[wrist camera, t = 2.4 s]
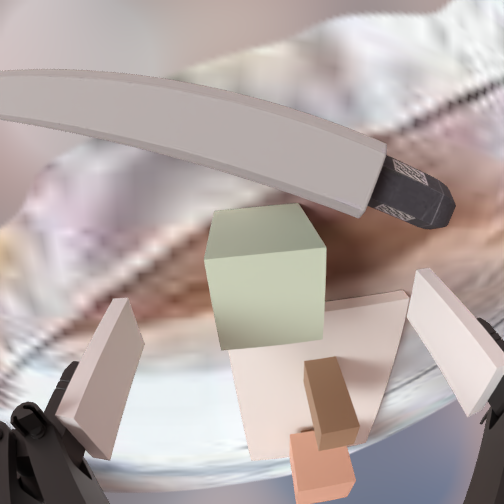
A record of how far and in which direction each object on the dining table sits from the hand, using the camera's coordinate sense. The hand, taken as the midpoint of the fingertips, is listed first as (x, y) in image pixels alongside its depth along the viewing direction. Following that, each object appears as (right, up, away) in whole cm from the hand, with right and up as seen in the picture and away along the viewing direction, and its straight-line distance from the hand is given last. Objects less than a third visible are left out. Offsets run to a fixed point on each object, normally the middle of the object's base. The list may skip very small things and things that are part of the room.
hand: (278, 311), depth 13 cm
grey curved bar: (-5, +11, +3) cm, 13 cm away
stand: (+5, -11, +14) cm, 18 cm away
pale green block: (-1, +3, +7) cm, 7 cm away
